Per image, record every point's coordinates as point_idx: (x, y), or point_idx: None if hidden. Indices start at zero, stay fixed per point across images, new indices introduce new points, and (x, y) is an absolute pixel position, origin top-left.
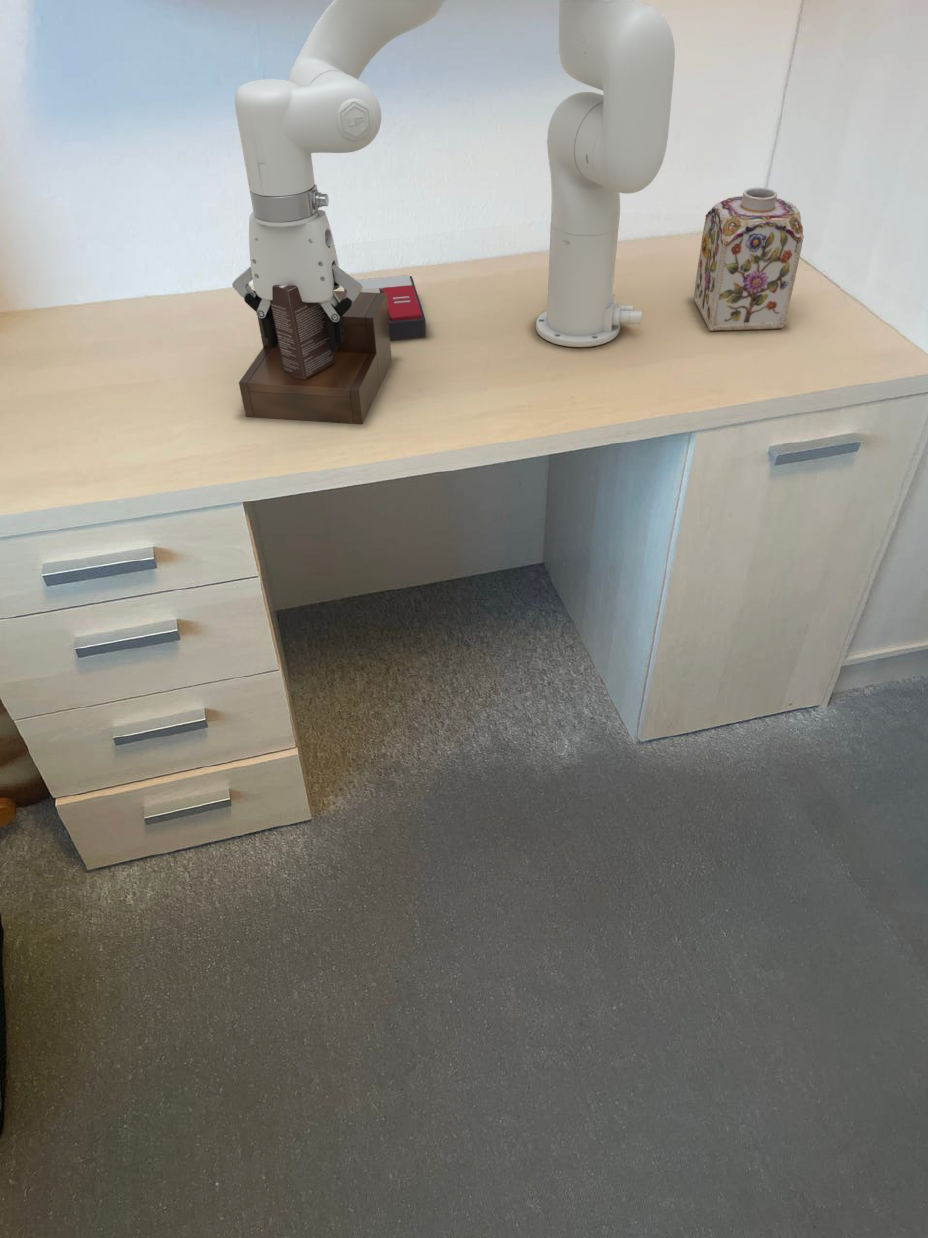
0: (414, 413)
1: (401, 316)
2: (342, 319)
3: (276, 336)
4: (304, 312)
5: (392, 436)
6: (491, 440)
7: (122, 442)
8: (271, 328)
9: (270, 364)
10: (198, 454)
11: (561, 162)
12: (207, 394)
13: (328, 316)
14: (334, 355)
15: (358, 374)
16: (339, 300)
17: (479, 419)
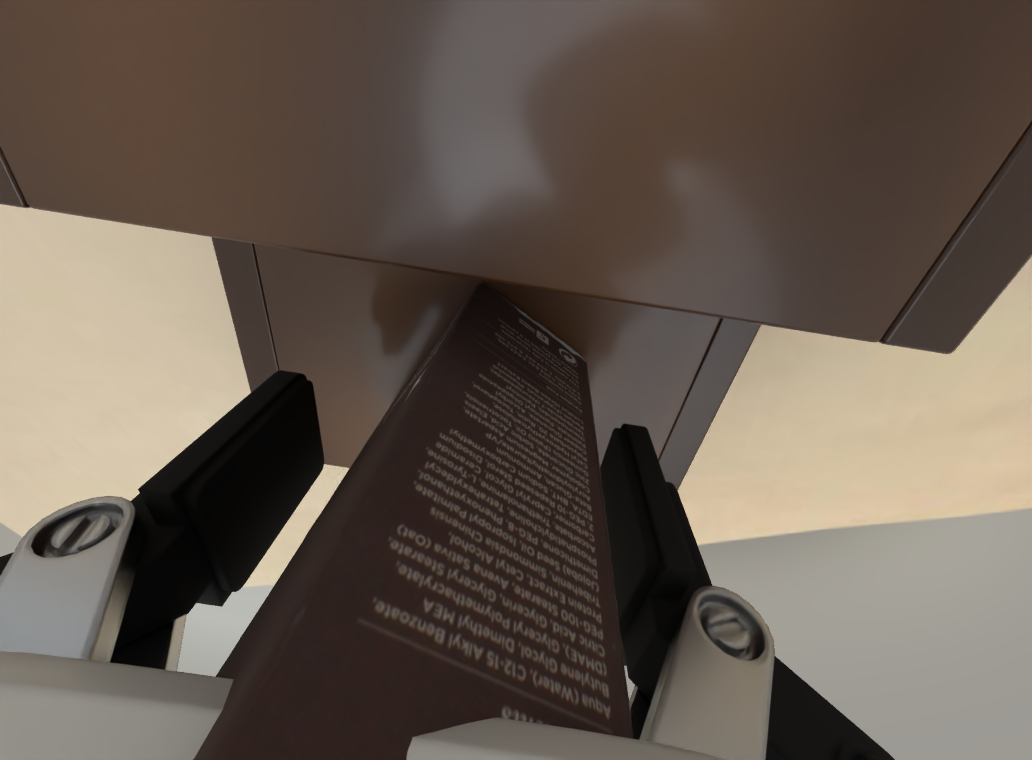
0: (795, 396)
1: None
2: (706, 574)
3: (299, 455)
4: None
5: (708, 483)
6: (944, 510)
7: (115, 464)
8: (268, 546)
9: (315, 349)
10: (298, 507)
11: None
12: (144, 261)
13: (607, 537)
14: (588, 379)
15: (674, 436)
16: (763, 720)
17: (971, 433)
